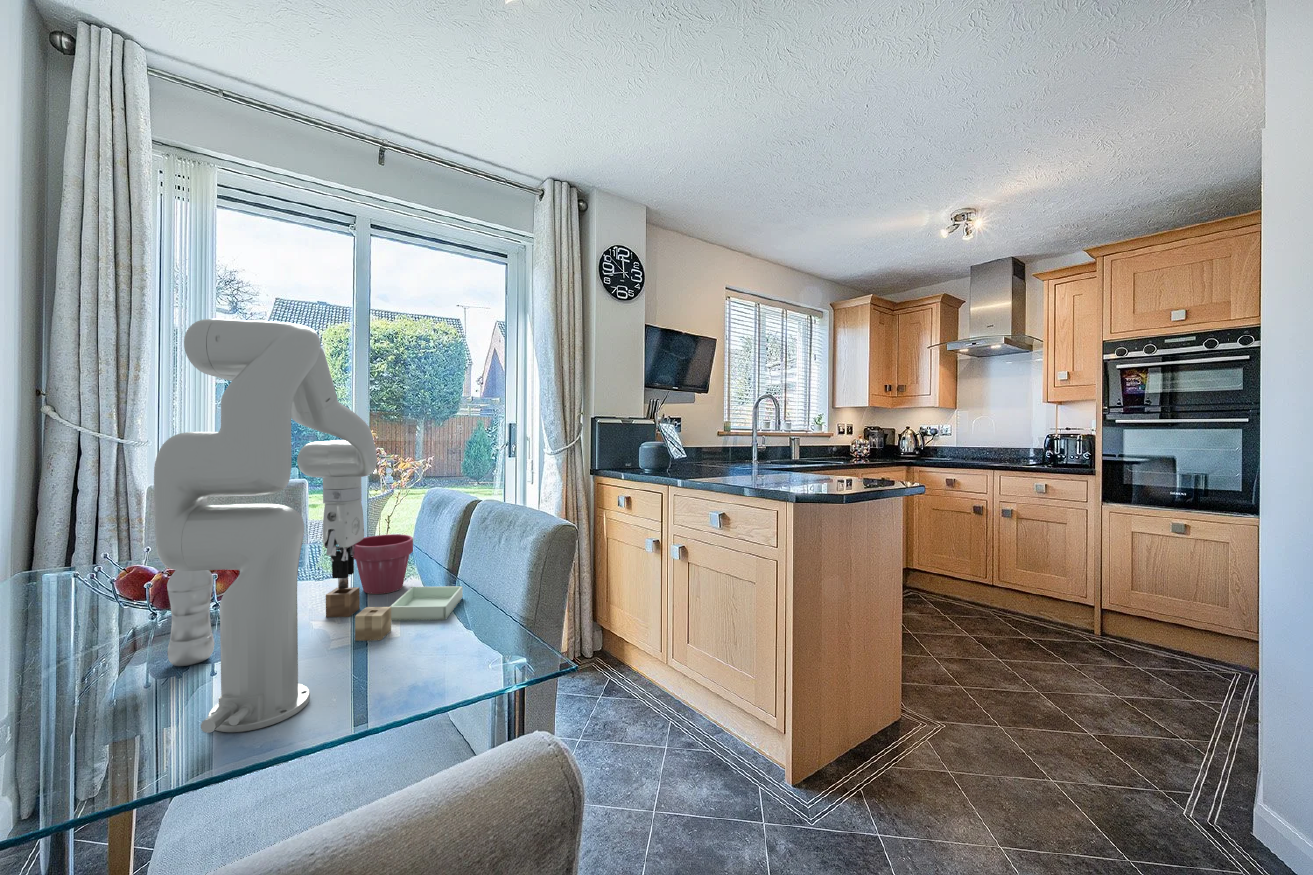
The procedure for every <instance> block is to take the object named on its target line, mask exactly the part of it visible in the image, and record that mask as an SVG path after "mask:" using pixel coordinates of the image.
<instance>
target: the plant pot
mask: <svg viewBox="0 0 1313 875" xmlns="http://www.w3.org/2000/svg"><path fill="white" fill-rule="evenodd" d="M413 552H414V539H413V537H412V535H408V534H400V533H399V534H396V533H394V534H379V535H371V536H364V538H363V539H362V540H361V541H360V542H358V543H356V545H355V554H354V556H352V557H354V561H355V562H356V563H355V564H356V567H357V571H358V576H359V579H360V582H361V587H362V592H364V593H366V594H371V595H381V594H382V595H383V594H389V593H393V592H396V591H400V590H401V589H402V588H404V586H403V585H404V582H405V579H406V578H405V577H406V572H407V568H408V564H409V558H410V555H411V554H412V553H413Z"/></svg>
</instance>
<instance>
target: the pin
mask: <svg viewBox="0 0 1313 875" xmlns="http://www.w3.org/2000/svg"><path fill="white" fill-rule="evenodd" d="M346 560H348V552H346ZM337 588H338V589H345V588H349V576H348V577H347V578H337Z"/></svg>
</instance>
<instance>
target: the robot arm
mask: <svg viewBox="0 0 1313 875" xmlns="http://www.w3.org/2000/svg"><path fill="white" fill-rule="evenodd" d="M184 334H185V335H184V340H183V349H184V352H185V355H186V358H187V359H188V361H189V362H190V363H191V365H192V366H193V367H194V368H195V369H197V370H198V371H199V372H200V373H203V374H205V375H208V376H211V377H214V378H218V379H222V380H225V381H226V380H227V381H230V383H229V384H228V386H227V387H226V389H224V392H223V394H222V396H221V399H220V427H219V431H186V432H181V433H180V432H179V433H177V434H175V435H172V436H170V437H169V438H167V440H165V441H164V443H163V444H162V445H161V447H160V449H159V451H158V452H157V454H156V458H155V462H154V468H153V469H154V470H153V489H154V490H153V493H154V494H153V500H154V502H153V503H154V525H155V526H154V529H155V530H154V531H155V546H156V552H157V556H158V558H159V561H160V562H161V563H162V565H164V566H165V567H167V568H168V569H170V570H172V571H173V570H174V571H176V570H177V571H199V570H209V571H215V570H218V571H219V570H221V571H222V570H229V571H231V570H232V571H233V570H234V571H239V574H238V577H236V579H235V580H234V581H233V582H232V583H231V585H230V586H229V587H228V588H227V589H226V590H225V591H224V593H223V594H222V596H221V599H220V603H219V624H220V625H219V627H220V628H219V632H220V633H219V634H220V636H219V637H220V684H221V685H220V692H221V693H220V695H221V696H219V697H218V703H216V704H215V705H214V706H213V707H212V708H211V709H210V710H209V712H208V714H207V718H205V719H204V720H202V722H201V723H200V730H201V731H202V732H204V733H207V734H210V733H212V732H214V731H217V732H222V733H241V732H250V731H255V730H260V729H262V728H266V727H270V726H272V725H275V724H278V723H280V722H283V721H285V720H287V719H289V718H290V717H293V716H295V715H296V714H297V713H299V712H301V711H302V710H303V709H305V707H306V706H307V705H308V704H309V702H310V698H311V692H310V688H309V687H307V686H306V685H303V684H302V683H299V652H298V651H299V647H298V646H299V641H298V640H299V637H298V636H299V635H298V634H299V633H298V627H299V626H298V578H299V577H298V574H299V564H300V558H301V551H302V546H303V540H304V537H305V535H304V534H305V523H304V519H303V516H302V515H301V514H300V512H298V511H297V510H296V509H294V508H292V507H291V506H287V505H284V504H278V503H236V504H235V503H234V504H208V497H247V496H248V497H250V496H251V497H252V496H263V495H265V496H266V495H272V494H276V493H279V492H281V491H283V490H284V489H285V488H286V487H287V486H288V484H289V482H290V480H291V474H292V421H294V422H295V423H297V424H298V425H300V426H304V427H305V428H309V429H311V430H315V431H318V432H320V433H324V434H327V435H331V436H333V437H336V438H339V439H334V440H327V441H312V442H309V443H306V444H305V445H303V446H302V447H301V449H300V450H299V452H298V454H297V458H296V460H297V461H296V462H297V467H298V469H299V470H300V472H301V473H302V474H304V476H307V477H309V478H310V477H311V478H322V504H324V510H323V520H322V521H323V522H322V544H323V548H325V549H326V552H325V553H326V554H325V555H326V556H329V557H330V561H331V578H332V579H338V578H347V577H348V578H349V575H350V576H351V575H353V574H354V573H355V559H354V557H352V556H354V554H355V545H356V543H358V542H360V541H361V540H362V539H363V538H365V521H364V511H363V510H364V509H363V505H362V504H363V503H362V490H363V489H362V477H364V478H365V477H367V476H370V475H371V474H373V472H374V471H375V470H376V468H377V464H378V455H377V449H376V444H375V441H374V436H373V433H372V430H371V428H370V427H369V425H368V423H367V422H366V421H365V420H364V419H363V418H362V417H360V415H358V414H357V413H355V412H354V411H353V410H351V409H350V408H348V407H347V406H345V405H344V404H342V403H341V402H339V400H338V394H337V392H336V389H335V385H334V382H333V378H332V374H331V371H330V367H329V364H328V360H327V358H326V357H327V356H326V354H325V351H324V350H323V347H321V339H320V337H319V335H318V333H317V331H315V330H314V329H312V328H310V327H309V326H307V325H303V324H299V323H298V324H297V323H291V322H283V321H270V320H269V321H267V320H239V319H224V318H221V319H220V318H206V319H205V318H204V319H199V320H197V321H195V322H194V323H192V324H191V325H189V327H188V328H187V330H186V332H185V333H184ZM346 552H348V560H346Z"/></svg>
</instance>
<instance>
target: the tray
mask: <svg viewBox="0 0 1313 875" xmlns="http://www.w3.org/2000/svg"><path fill="white" fill-rule="evenodd" d="M463 591H464V590H463V586H452V585H451V586H449V585H448V586H411V587H410V588H409V589H407V591H405V592H404V594H402V595H401V596H400V597H399V598H398V599H396V600H395V601H394V602H393V603H392V604H391V605H390V606H389V607H391V621H446V620H447V619H446V618H448V617H449V616H450V615H451V614H452V613H453V611H454V610H455V609H456V607H457V606H458V605H459V604H460V603H461V601H462V600H461V598H462V597H463V594H464V593H463ZM462 599H463V598H462ZM460 600H461V601H460ZM458 603H459V604H458ZM457 604H458V605H457ZM456 605H457V606H456ZM454 608H455V609H454ZM450 613H451V614H450ZM445 619H446V620H445Z"/></svg>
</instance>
